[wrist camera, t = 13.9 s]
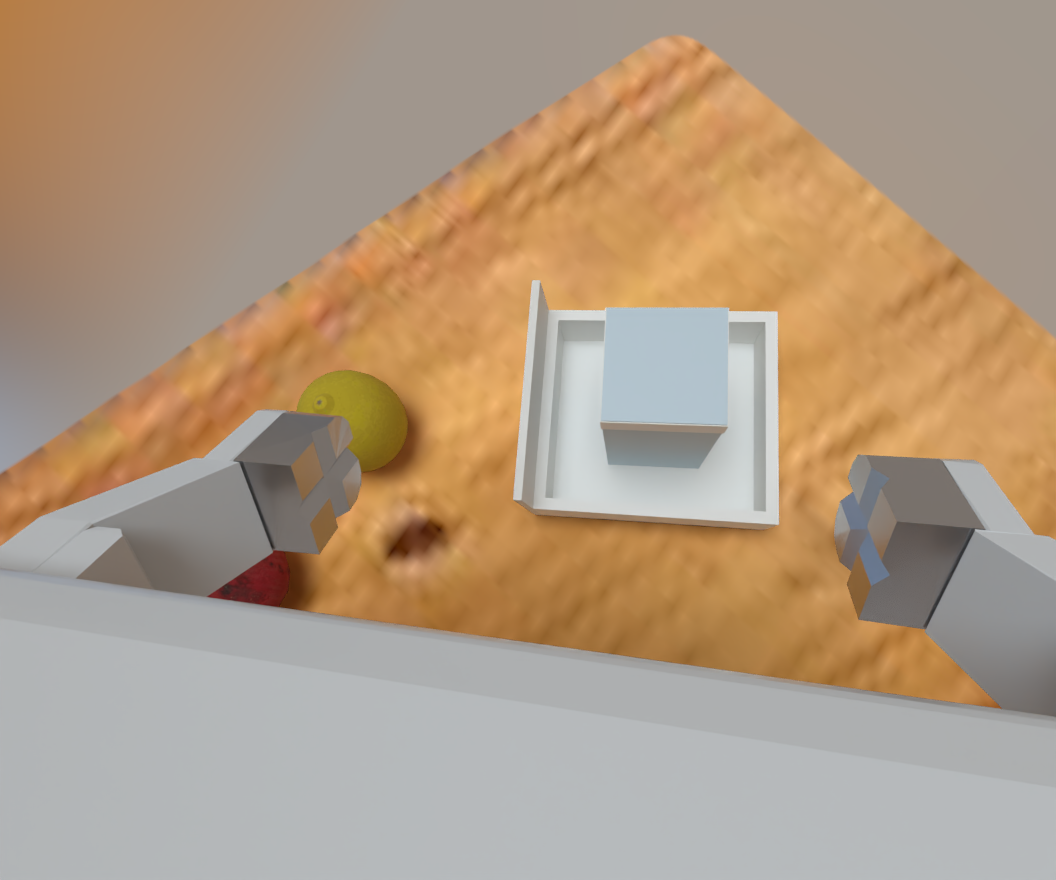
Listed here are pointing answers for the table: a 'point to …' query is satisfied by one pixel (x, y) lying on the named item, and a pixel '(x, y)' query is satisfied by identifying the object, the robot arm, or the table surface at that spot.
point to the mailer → (643, 491)
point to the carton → (664, 385)
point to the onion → (259, 582)
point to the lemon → (361, 414)
